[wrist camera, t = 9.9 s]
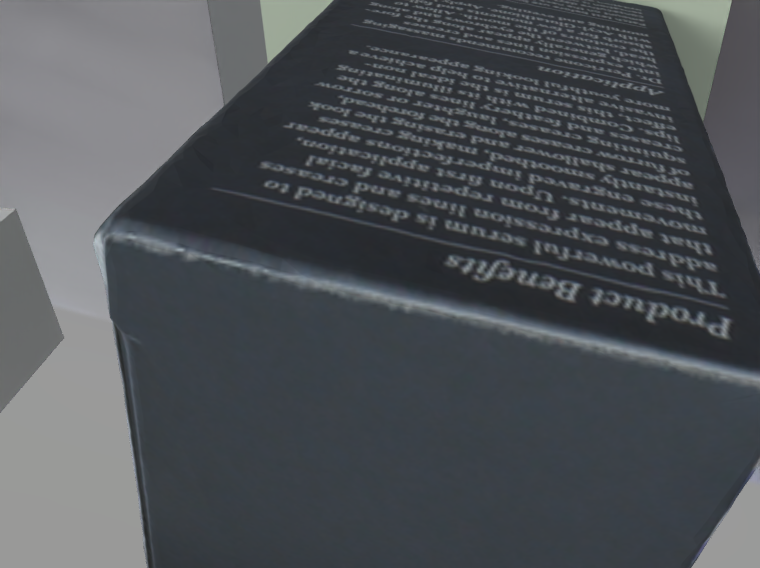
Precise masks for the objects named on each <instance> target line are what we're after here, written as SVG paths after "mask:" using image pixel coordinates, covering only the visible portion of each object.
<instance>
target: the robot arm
mask: <svg viewBox="0 0 760 568" xmlns="http://www.w3.org/2000/svg"><path fill="white" fill-rule="evenodd" d="M63 339H64V336H63V334H62V331H61V328H60V326H59V323H58V320H57V318H56V315H55V313H54V310H53V307H52V304H51V302H50V299H49V296H48V294H47V291H46V288H45V286H44V283H43V280H42V278H41V275H40V272H39V270H38V267H37V264H36V262H35V259H34V256H33V253H32V251H31V248H30V245H29V243H28V240H27V237H26V235H25V232H24V229H23V227H22V224H21V221H20V219H19V216H18V213H17V211H16V209H10V208H0V413H1V411H2V410H3V409H4V408H5V406H6V405H7V404H8V403H9V402H10V401H11V399H12V398H13V397H14V396H15V395H16V394H17V392H18V391H19V390H20V389H21V388H22V387H23V386H24V384H25V383H26V382H27V381H28V380H29V378H30V377H31V376H32V375H33V374H34V373H35V371H36V370H37V369H38V368H39V367H40V366H41V364H42V363H43V362H44V361H45V360H46V358H47V357H48V356H49V355H50V354H51V353H52V351H53V350H54V349H55V348H56V347H57V346H58V344H59V343H60V342H61V341H62V340H63Z"/></svg>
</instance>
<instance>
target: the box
mask: <svg viewBox="0 0 760 568" xmlns="http://www.w3.org/2000/svg"><path fill="white" fill-rule="evenodd" d="M93 246H94V250H95V254H96V257H97V260H98V263H99V266H100V270H101V273H102V277H103V280H104V284H105V288H106V294H107V303H108V309H109V314H110V318H111V320H112V325H113V333H114V339H115V345H116V351H117V356H118V363H119V369H120V374H121V379H122V384H123V388H124V397H125V407H126V417H127V425H128V432H129V439H130V446H131V451H132V459H133V465H134V471H135V478H136V483H137V491H138V500H139V509H140V518H141V524H142V529H143V544H144V551H145V557H146V564H147V568H691V567H692V566H693V564H694V563H695V561H696V560H697V558H698V557H699V555H700V553H701V552H702V550H703V549H704V547H705V546H706V544H707V542H708V541H709V539H710V538H711V536H712V535H713V533H714V532H715V530H716V529H717V527H718V526H719V525H720V523H721V522H722V520H723V519H724V517H725V516H726V514H727V513H728V511H729V510H730V508H731V506H732V505H733V503H734V501H735V499H736V498H737V496H738V495H739V493H740V492H741V490H742V489H743V487H744V486H745V484H746V483H747V482H748V480H749V479H750V477H751V476H752V474H753V473H754V471H755V470H756V468H757V467H758V466H759V464H760V273H759V271H758V269H757V267H756V264H755V261H754V258H753V255H752V252H751V250H750V247H749V245H748V241H747V238H746V235H745V233H744V231H743V229H742V227H741V223H740V219H739V217H738V215H737V213H736V210H735V208H734V205H733V202H732V199H731V197H730V194H729V192H728V189H727V187H726V183H725V179H724V175H723V173H722V171H721V168H720V166H719V164H718V161H717V158H716V156H715V153H714V150H713V147H712V145H711V143H710V141H709V137H708V134H707V132H706V129H705V127H704V124H703V121H702V118H701V116H700V114H699V111H698V107H697V105H696V102H695V99H694V96H693V94H692V91H691V88H690V86H689V84H688V81H687V78H686V75H685V71H684V68H683V67H682V65H681V61H680V59H679V56H678V54H677V50H676V48H675V45H674V42H673V40H672V38H671V35H670V33H669V30H668V27H667V25H666V22H665V20H664V17H663V14H662V12H661V10H659V9H657V8H654V7H650V6H645V5H639V4H634V3H626V2H620V1H615V0H333V1H332V2H331V3H330V4H329V5H328V6H327V7H326V8H325V9H324V10H323V11H322V12H321V13H320V14H319V15H318V16H317V17H316V18H315V19H314V20H313V21H312V22H310V23H309V24H308V25H307V26H306V27H305V28H304V29H303V30H302V31H301V32H300V33H299V34H298V35H297V36H296V37H295V38H294V39H293V40H292V41H291V42H290V43H288V44H287V45H286V46H285V48H284V49H283V50H282V51H281V52H280V53H279V54H277V55H276V56H275V57H274V58H273V59H272V60H271V61H270V62H269V63H268V64H267V65H266V66H265V67H264V68H263V70H262V71H261V72H260V73H259V74H258V75H256V76H255V77H254V78H253V79H252V80H251V81H250V82H249V83H248V84H247V85H246V86H245V87H244V88H243V89H241V90H240V91H239V92H238V93H237V94H236V95H235V96H234V97H233V98H232V99H231V100H230V101H229V102H228V103H227V104H226V105H225V106H224V107H223V108H222V109H221V110H220V111H219V112H218V113H217V114H215V115H214V116H213V117H212V118H211V119H210V120H209V121H208V122H207V123H205V124H204V125H203V126H202V127H201V128H199V129H198V130H197V131H196V132H195V133H194V134H193V135H192V136H191V137H190V138H189V139H188V140H187V141H186V142H185V143H184V144H183V145H182V146H181V147H180V148H179V149H178V150H177V151H176V152H175V153H174V154H173V155H172V156H171V157H170V159H169V160H168V161H167V162H165V163H164V164H163V165H162V166H161V167H160V168H159V169H158V170H157V171H156V172H155V173H154V174H153V175H152V176H151V177H150V178H149V179H148V180H147V181H146V182H145V183H144V184H143V185H141V186H140V187H139V188H138V189H137V190H136V191H135V192H134V193H132V194H131V195H130V196H129V197H128V198H127V199H126V200H124V201H123V202H122V203H121V204H120V205H119V206H118V207H117V208H116V209H115V210H114V211H113V213H112V214H111V215H110V216H109V217H108V218H107V219H106V220H105V221H104V223H103V224H102V225H101V226H100V228H99V229H98V230H97V232H96V233H95V237H94V243H93Z"/></svg>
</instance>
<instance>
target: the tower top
mask: <svg viewBox="0 0 760 568" xmlns="http://www.w3.org/2000/svg"><path fill="white" fill-rule="evenodd" d="M332 1H333V0H260V4H261V12H262V20H263V28H264V37H265V45H266V53H267V61H268V63H269V62H270V61H271V60H272V59H273V58H274V57H275V56H276V55H277V54H279V53H280V52H281V51H282V50H283V49H284V48H285V46H286V45H287V44H288V43H290V42H291V41H292V40H293V39H294V38H295V37H296V36H297V35H298V34H299V33H300V32H301V31H302V30H303V29H304V28H305V27H306V26H307V25H308V24H309V23H310V22H312V21H313V20H314V19H315V18H316V17H317V16H318V15H319V14H320V13H321V12H322V11H323V10H324V9H325V8H326V7H327V6H328V5H329V4H330V3H331V2H332ZM615 1H620V2H626V3H634V4H639V5H645V6H650V7H654V8H657V9H659V10H661V12H662V14H663V17H664V20H665V22H666V25H667V27H668V30H669V33H670V35H671V38H672V40H673V42H674V45H675V48H676V50H677V54H678V56H679V59H680V61H681V65H682V67H683V68H684V71H685V75H686V78H687V81H688V84H689V86H690V88H691V91H692V94H693V96H694V99H695V102H696V105H697V107H698V111H699V114H700V116H701V118H702V121H704V117H705V112H706V108H707V104H708V100H709V95H710V91H711V87H712V83H713V78H714V74H715V70H716V66H717V62H718V57H719V53H720V49H721V45H722V40H723V36H724V32H725V28H726V23H727V19H728V15H729V11H730V7H731V2H732V0H615Z"/></svg>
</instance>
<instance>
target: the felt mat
mask: <svg viewBox="0 0 760 568" xmlns="http://www.w3.org/2000/svg"><path fill="white" fill-rule="evenodd" d="M207 2H208V8H209V14H210V21H211V27H212V33H213V39H214V45H215V51H216V57H217V63H218V69H219V75H220V81H221V87H222V93H223V99H224V105H226V104H227V103H228V102H229V101H230V100H231V99H232V98H233V97H234V96H235V95H236V94H237V93H238V92H239V91H240V90H241V89H243V88H244V87H245V86H246V85H247V84H248V83H249V82H250V81H251V80H252V79H253V78H254V77H255V76H256V75H258V74H259V73H260V72H261V71H262V70H263V68H264V67H265V66H266V65H267V64H268V61H267V53H266V45H265V37H264V28H263V20H262V12H261V4H260V0H207Z"/></svg>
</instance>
